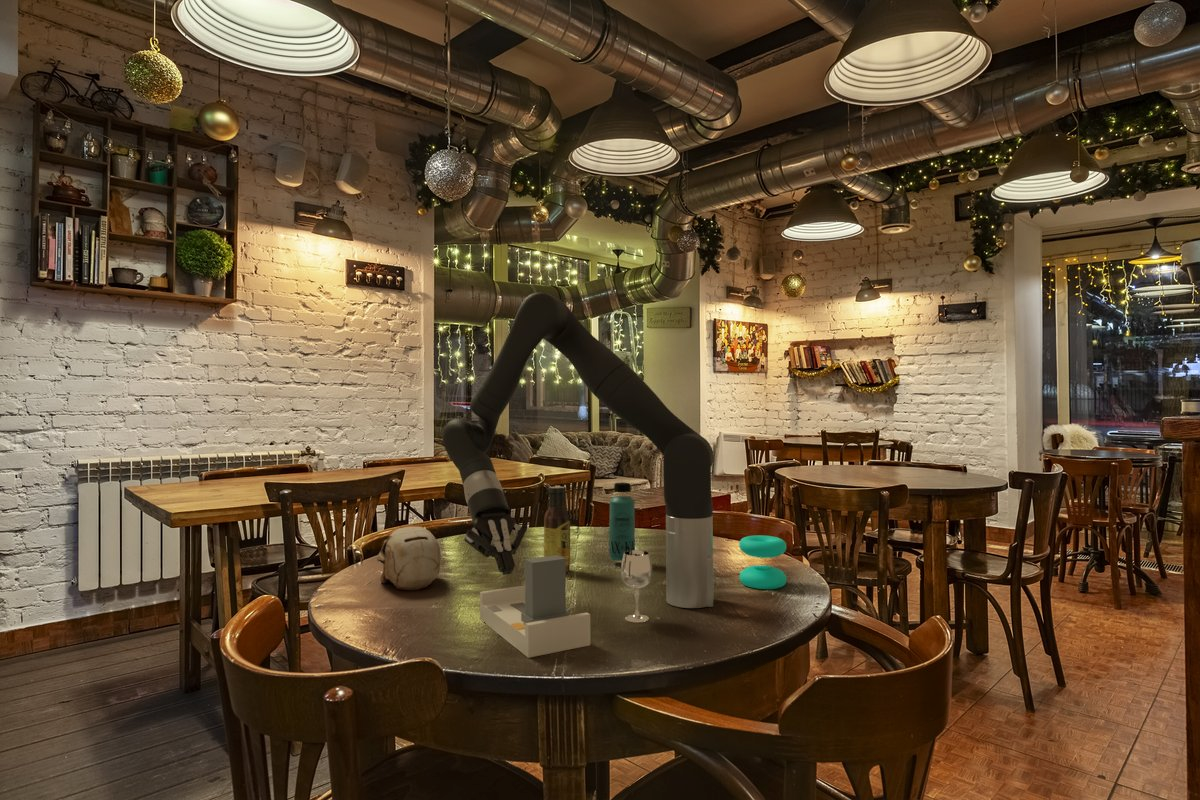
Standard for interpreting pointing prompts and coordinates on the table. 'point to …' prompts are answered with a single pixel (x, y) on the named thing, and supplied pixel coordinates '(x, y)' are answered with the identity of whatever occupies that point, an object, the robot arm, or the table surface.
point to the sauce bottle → (557, 526)
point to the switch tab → (545, 589)
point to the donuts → (763, 574)
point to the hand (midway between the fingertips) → (508, 572)
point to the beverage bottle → (621, 523)
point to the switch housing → (531, 624)
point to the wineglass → (636, 577)
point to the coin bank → (410, 558)
